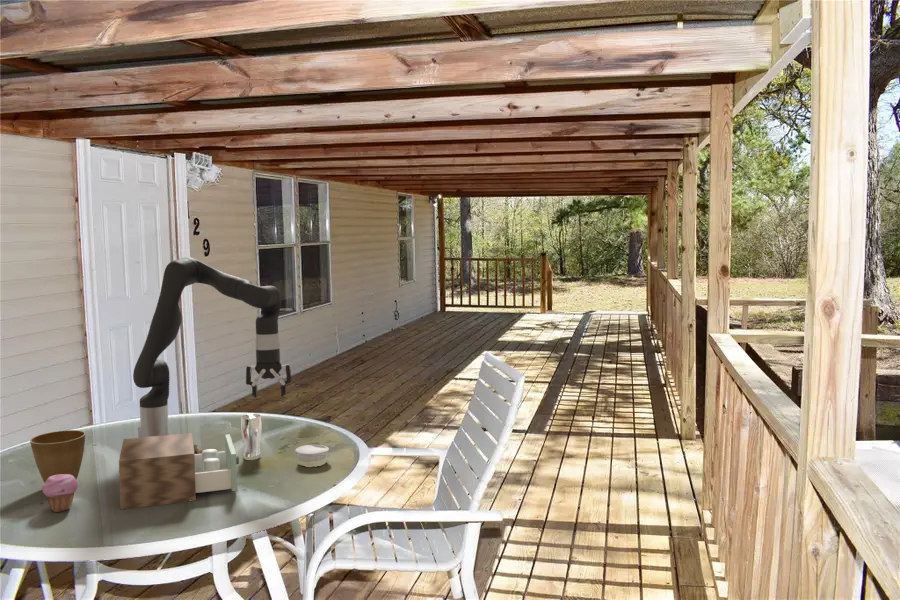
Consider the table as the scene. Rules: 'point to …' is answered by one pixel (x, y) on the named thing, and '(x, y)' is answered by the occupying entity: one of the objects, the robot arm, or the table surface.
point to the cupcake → (60, 491)
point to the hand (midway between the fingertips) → (269, 396)
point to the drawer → (216, 469)
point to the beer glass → (251, 434)
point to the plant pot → (58, 452)
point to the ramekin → (311, 452)
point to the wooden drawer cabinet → (157, 470)
